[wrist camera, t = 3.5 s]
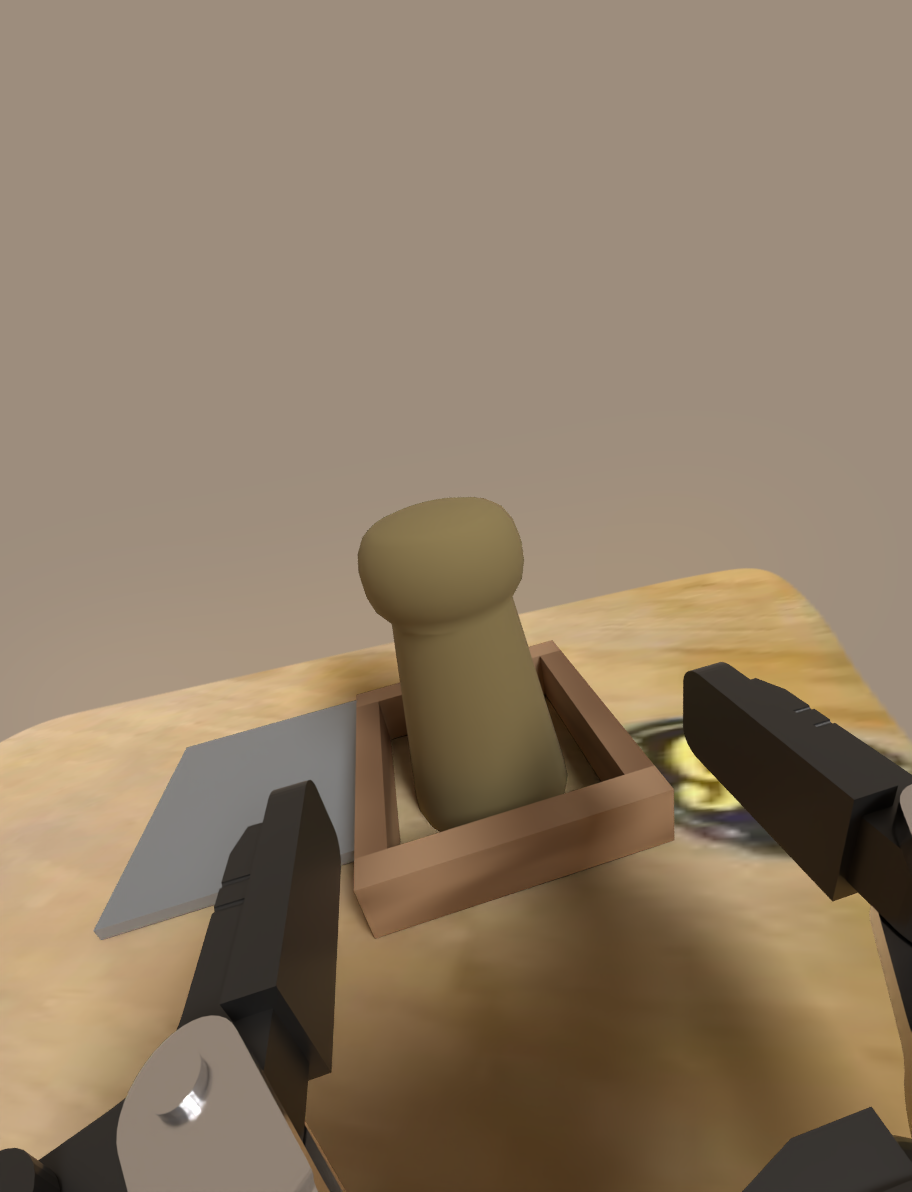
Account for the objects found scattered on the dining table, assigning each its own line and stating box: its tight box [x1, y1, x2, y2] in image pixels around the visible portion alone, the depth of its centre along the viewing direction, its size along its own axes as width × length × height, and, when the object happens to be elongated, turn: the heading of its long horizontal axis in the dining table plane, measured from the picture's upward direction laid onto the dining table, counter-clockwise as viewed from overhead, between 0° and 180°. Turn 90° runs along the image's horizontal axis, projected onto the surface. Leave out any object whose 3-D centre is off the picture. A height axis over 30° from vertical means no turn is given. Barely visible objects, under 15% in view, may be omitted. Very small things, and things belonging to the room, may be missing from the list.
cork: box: [358, 497, 567, 832], centre depth 16 cm, size 6×6×11 cm
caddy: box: [354, 640, 674, 938], centre depth 18 cm, size 10×10×2 cm
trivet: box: [94, 700, 357, 940], centre depth 20 cm, size 9×9×1 cm
